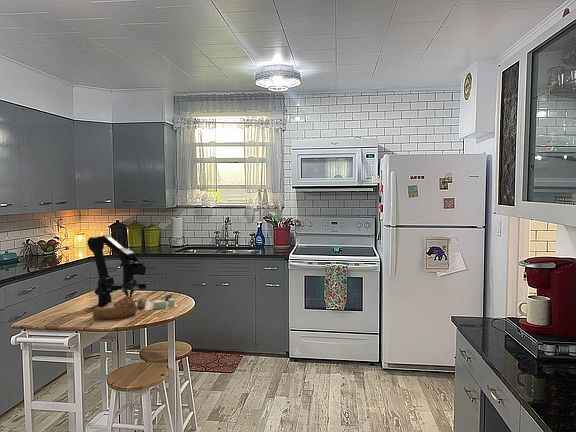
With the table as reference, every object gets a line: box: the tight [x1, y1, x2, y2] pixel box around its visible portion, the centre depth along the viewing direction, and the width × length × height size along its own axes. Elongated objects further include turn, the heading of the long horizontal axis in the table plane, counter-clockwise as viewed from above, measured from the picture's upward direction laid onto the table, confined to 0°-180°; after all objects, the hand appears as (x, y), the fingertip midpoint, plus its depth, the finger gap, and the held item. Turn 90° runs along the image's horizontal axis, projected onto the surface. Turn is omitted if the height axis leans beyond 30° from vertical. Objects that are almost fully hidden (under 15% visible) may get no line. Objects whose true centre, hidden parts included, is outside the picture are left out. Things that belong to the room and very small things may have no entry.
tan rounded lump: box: [92, 295, 138, 321], centre depth 240 cm, size 19×11×15 cm
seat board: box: [134, 293, 179, 312], centre depth 264 cm, size 23×21×4 cm
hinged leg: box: [136, 296, 148, 309], centre depth 261 cm, size 16×4×4 cm, turn 12°
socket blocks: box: [154, 297, 176, 310], centre depth 259 cm, size 11×7×3 cm, turn 114°
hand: (129, 301), depth 263 cm, fingers closed
